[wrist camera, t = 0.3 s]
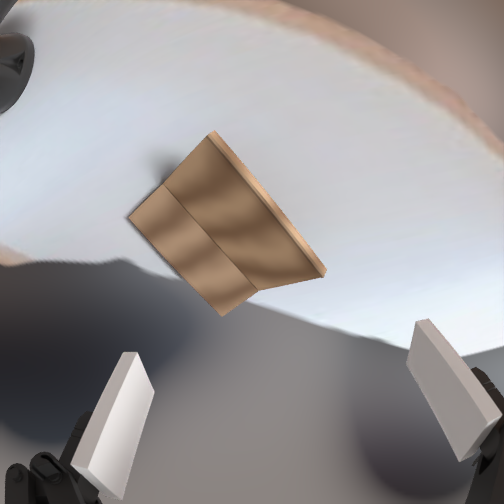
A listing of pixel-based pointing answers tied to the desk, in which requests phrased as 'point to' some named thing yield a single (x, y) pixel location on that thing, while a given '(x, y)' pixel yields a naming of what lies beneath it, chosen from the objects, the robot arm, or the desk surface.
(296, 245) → the plank
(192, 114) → the desk surface
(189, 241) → the laid board
